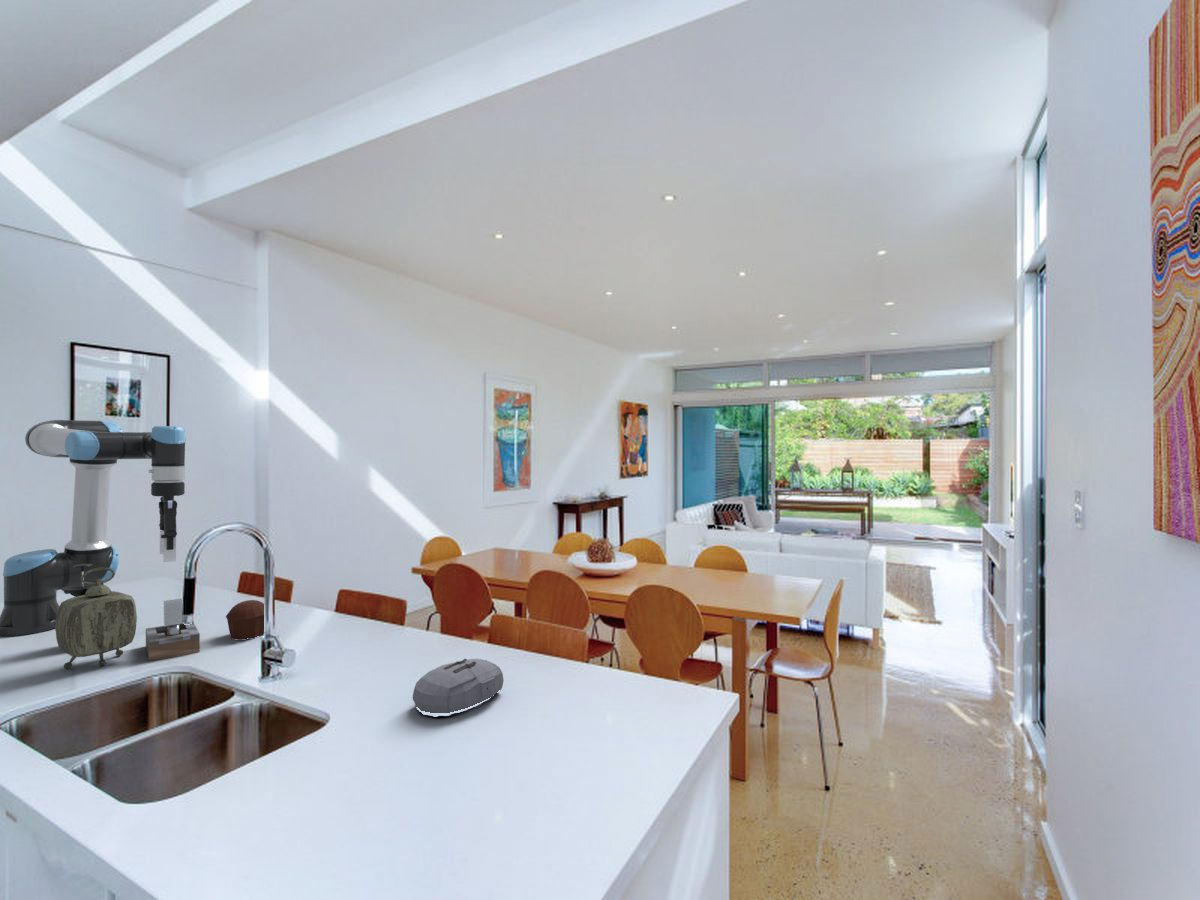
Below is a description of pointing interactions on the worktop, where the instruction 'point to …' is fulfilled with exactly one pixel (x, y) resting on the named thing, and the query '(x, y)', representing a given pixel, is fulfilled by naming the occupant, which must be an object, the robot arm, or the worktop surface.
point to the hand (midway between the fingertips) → (167, 557)
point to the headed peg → (173, 616)
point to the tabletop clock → (95, 621)
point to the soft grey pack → (457, 686)
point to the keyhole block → (172, 642)
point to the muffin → (246, 620)
